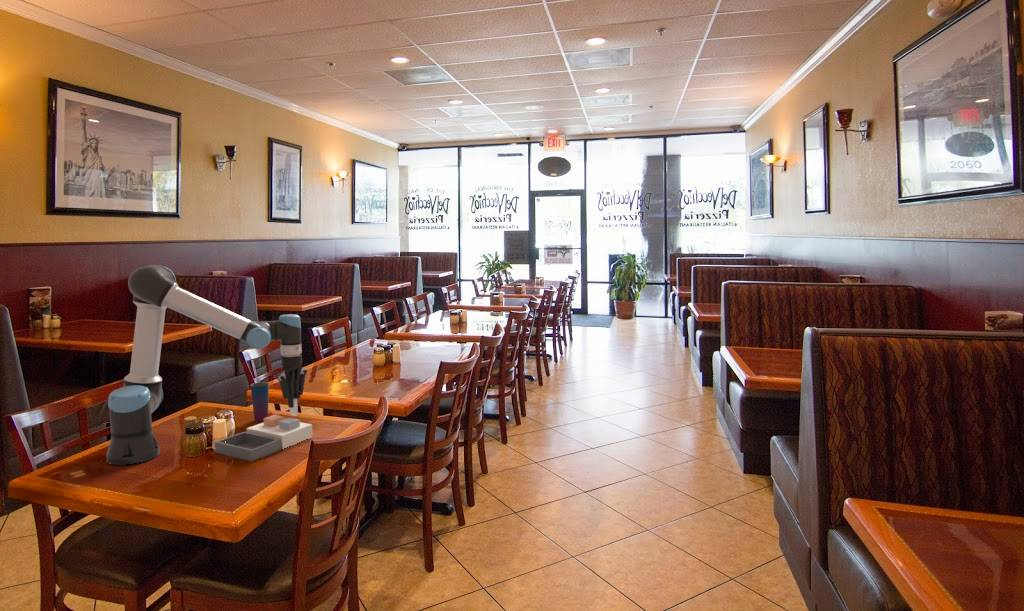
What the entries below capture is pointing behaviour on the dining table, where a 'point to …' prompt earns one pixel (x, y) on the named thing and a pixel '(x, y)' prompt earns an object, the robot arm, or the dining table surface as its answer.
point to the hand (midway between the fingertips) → (293, 414)
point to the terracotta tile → (273, 420)
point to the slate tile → (289, 423)
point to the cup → (260, 400)
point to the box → (247, 446)
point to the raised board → (283, 433)
